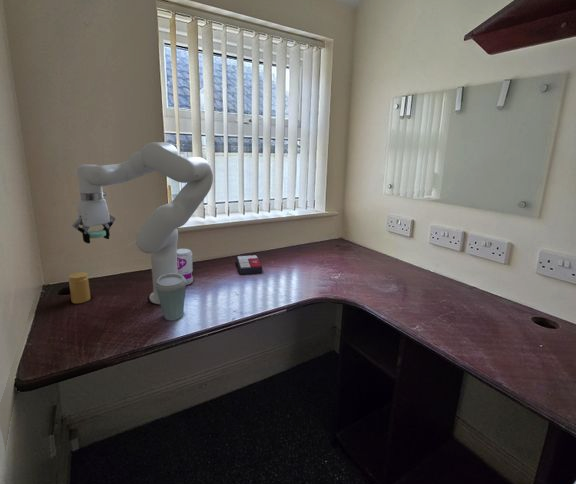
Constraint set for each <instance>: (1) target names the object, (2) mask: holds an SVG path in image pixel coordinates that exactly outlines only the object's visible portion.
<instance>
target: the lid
mask: <svg viewBox="0 0 576 484" xmlns="http://www.w3.org/2000/svg"><path fill="white" fill-rule="evenodd" d="M88 234H89V237H90V239H98V238H104V236H106V231H105V230H103V229H92V230H88Z"/></svg>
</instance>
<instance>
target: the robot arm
mask: <svg viewBox="0 0 576 484" xmlns="http://www.w3.org/2000/svg"><path fill="white" fill-rule="evenodd" d="M76 171H77V177H78V178H77V179H78V188H79V195H80V200H78V202H77V219H76V220H75V221H74V222H73V224H72V225H71V226H72V227H73V228H74V229H75V230H77V231H78V232H80V233H81V235H82V241H83V242H84V243H86V244H91V238H90V237H89V234H88V231H90V227H95V226H102V227H103V228H102V230H105V231H106V236H104V237H103V238H104V239H105V240H109V239H110V236H111V235H110V229H111V227H112V226H113V224H114V223H115V221H116V219H117V218H116V217H115V216H113V215H111V214H110V212H109V207H108V203H107V201H106V199H105V198H104V197H105V196H107V193H106V192H104V190H103V187H105V186H112V185H117V184H123V183H126V182H129V181H132V180H135V179H138V178H140V177H143V176H145V175H148V174H151V173H153V172H157V173H159V174H161V175H163V176H164V177H166V178H168V179H170V180H173V181H175V182H177V183H182V184H185V185H184V186H183V187H181V189H180V190H179V191H178V193H177V195H176V196H175V197H174V198H173V199H172V201H170V202H168V203H165V204H162V205H160V206H158V207H156V208H155V209H154V210H153V211H152V212H151V213H150V215H149V216H148V218H147V219H146V220H145V222H144V223H143V224H142V225H141V227H140V228H139V230H138V232H137V234H136V237H135V245H136V247H137V248H138V249H139V251H141V252H143V253H145V254H150V265H151V278H152V292H151V293H150V295H149V301H150V302H151V303H153V304H155V305H161V304H160V301H159V297H158V293H157V290H156V288H155V282H156V281H157V278H159V277H160V276H161V275H164V274H168V273H178V269H177V249H178V242H179V230H178V229H179V228H181V227H183V226H184V225H186V224H187V222H189V220H190V218H191V217H192V216H193V215H194V213H195V212H196V211H197V209H198V208H199V206H200V205H201V204H202V202H203V201H204V200H205V198H207V195H208V194H209V193H210V190H211V188H212V186H213V183H214V171H213V169H212V166H211V165H210V163H209V161H207V160H206V159H205V158H203V157H200V156H182V155H179V151H178V149H177V147H176V146H175V145H174V144H172V143H169V142H163V141H162V142H161V141H160V142H159V141H152V142H148V143H146V144H145V145H143V147H142V148H141V149H140V150H138V151H134V152H132V153H131V154H130V155H129V159H127V160H125V161H122V162H119V163H110V164H103V165H98V164H91V163H89V164H88V163H86V164H84V163H83V164H79V165H77V167H76Z"/></svg>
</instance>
